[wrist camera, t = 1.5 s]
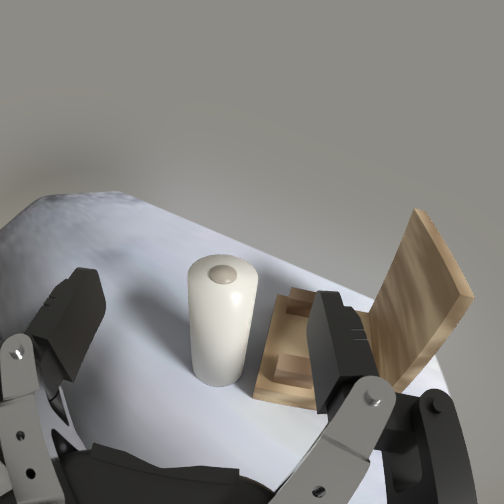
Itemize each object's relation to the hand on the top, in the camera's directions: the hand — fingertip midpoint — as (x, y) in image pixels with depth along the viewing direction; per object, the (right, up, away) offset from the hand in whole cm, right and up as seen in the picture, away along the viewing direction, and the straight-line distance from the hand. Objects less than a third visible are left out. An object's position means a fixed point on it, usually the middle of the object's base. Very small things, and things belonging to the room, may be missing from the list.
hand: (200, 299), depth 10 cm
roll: (-2, -11, +21) cm, 23 cm away
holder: (+10, -11, +22) cm, 27 cm away
